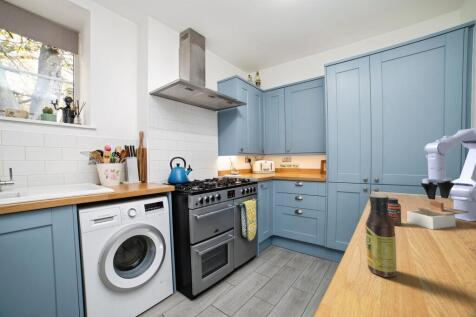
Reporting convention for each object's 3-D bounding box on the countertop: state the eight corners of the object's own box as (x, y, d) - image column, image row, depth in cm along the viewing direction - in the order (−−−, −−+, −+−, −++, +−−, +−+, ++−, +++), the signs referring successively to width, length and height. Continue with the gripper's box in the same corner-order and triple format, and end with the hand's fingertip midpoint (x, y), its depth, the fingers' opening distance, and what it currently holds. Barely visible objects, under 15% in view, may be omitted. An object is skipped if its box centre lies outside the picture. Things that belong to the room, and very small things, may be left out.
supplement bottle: (388, 225, 86) (386, 199, 86) (382, 221, 92) (381, 197, 92) (404, 226, 84) (403, 200, 84) (397, 222, 90) (396, 197, 90)
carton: (428, 220, 92) (427, 209, 92) (455, 226, 82) (455, 214, 82) (407, 222, 89) (406, 211, 90) (433, 229, 80) (432, 217, 80)
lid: (439, 207, 94) (438, 198, 94) (468, 212, 83) (468, 203, 84) (418, 209, 91) (417, 200, 91) (446, 215, 81) (445, 205, 81)
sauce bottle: (368, 263, 55) (365, 192, 56) (397, 270, 51) (394, 194, 52) (365, 273, 50) (362, 196, 51) (396, 282, 46) (393, 198, 47)
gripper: (434, 169, 84) (436, 201, 84) (460, 168, 87) (461, 199, 87) (416, 169, 91) (418, 198, 91) (441, 168, 94) (442, 196, 94)
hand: (438, 198), depth 90 cm, fingers open, 7 cm apart
